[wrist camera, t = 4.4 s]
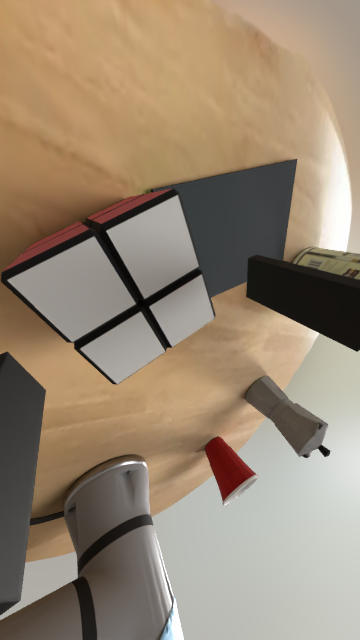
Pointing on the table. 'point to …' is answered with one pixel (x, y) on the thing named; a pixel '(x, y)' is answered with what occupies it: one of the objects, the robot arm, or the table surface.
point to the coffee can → (330, 261)
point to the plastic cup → (229, 470)
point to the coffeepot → (288, 417)
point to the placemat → (237, 219)
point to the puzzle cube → (118, 283)
